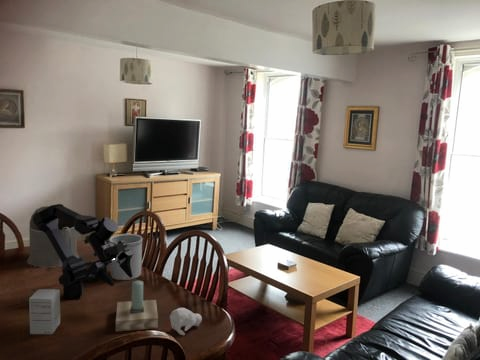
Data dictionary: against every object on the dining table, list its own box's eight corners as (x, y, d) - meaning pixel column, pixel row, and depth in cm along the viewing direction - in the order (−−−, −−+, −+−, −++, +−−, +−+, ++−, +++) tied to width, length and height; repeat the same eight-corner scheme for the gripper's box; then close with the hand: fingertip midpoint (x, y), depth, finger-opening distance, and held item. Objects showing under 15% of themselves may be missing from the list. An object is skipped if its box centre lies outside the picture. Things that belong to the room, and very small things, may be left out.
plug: (130, 322, 136) (131, 285, 134) (130, 316, 140) (131, 280, 138) (142, 321, 137) (143, 284, 135) (142, 316, 141) (143, 280, 139)
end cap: (74, 277, 172) (74, 263, 171) (89, 273, 177) (89, 259, 176) (86, 284, 165) (86, 269, 164) (101, 280, 171) (101, 265, 170)
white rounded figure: (169, 306, 132) (197, 300, 140) (166, 330, 133) (194, 323, 141) (178, 314, 127) (207, 307, 135) (175, 338, 128) (204, 330, 136)
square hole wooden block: (115, 332, 130) (115, 321, 129) (117, 312, 143) (117, 302, 143) (157, 328, 134) (157, 317, 133) (155, 309, 147) (155, 299, 146)
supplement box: (38, 322, 133) (38, 288, 131) (60, 323, 134) (60, 289, 132) (29, 334, 126) (28, 298, 124) (52, 334, 126) (52, 298, 124)
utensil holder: (110, 282, 168) (110, 244, 166) (107, 270, 182) (107, 234, 179) (144, 279, 174) (145, 242, 172) (139, 267, 188) (139, 232, 185)
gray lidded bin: (67, 248, 208) (67, 203, 205) (94, 265, 187) (94, 215, 183) (20, 257, 192) (19, 208, 188) (44, 276, 170) (43, 222, 167)
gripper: (91, 240, 132) (115, 278, 128) (130, 229, 148) (152, 262, 145) (76, 257, 136) (98, 294, 133) (115, 244, 153) (135, 277, 149)
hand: (122, 281), depth 140 cm, fingers open, 9 cm apart
